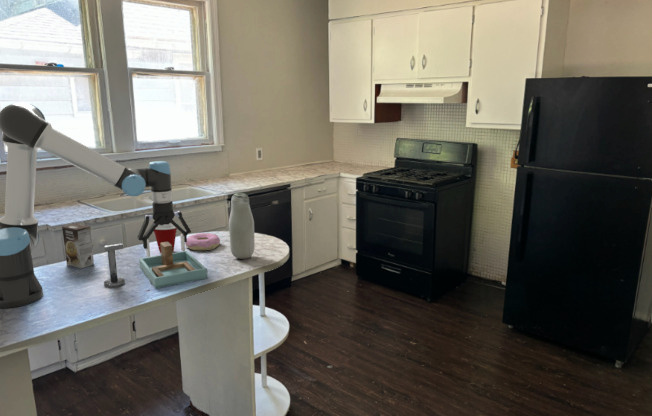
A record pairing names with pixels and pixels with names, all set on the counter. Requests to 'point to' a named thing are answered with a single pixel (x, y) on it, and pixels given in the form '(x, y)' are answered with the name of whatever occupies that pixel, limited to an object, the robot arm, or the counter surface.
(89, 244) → the coffee box
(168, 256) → the ring
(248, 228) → the glass bottle
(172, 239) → the plastic cup
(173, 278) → the tray
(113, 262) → the grey metal stand
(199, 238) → the donut
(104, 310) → the counter surface
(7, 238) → the robot arm
